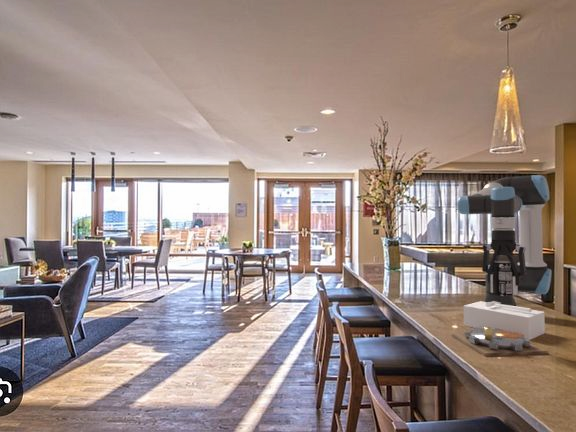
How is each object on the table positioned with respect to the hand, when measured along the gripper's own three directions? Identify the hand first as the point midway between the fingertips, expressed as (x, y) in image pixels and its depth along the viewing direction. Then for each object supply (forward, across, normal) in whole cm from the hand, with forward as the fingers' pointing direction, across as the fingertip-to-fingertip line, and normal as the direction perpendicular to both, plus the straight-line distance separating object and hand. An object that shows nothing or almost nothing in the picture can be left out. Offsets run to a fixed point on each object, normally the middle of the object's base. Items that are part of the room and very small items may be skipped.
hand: (503, 293), depth 137 cm
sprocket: (+17, -1, -4) cm, 17 cm away
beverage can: (+1, 0, 0) cm, 1 cm away
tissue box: (+18, -7, +19) cm, 27 cm away
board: (+18, -1, -4) cm, 18 cm away
